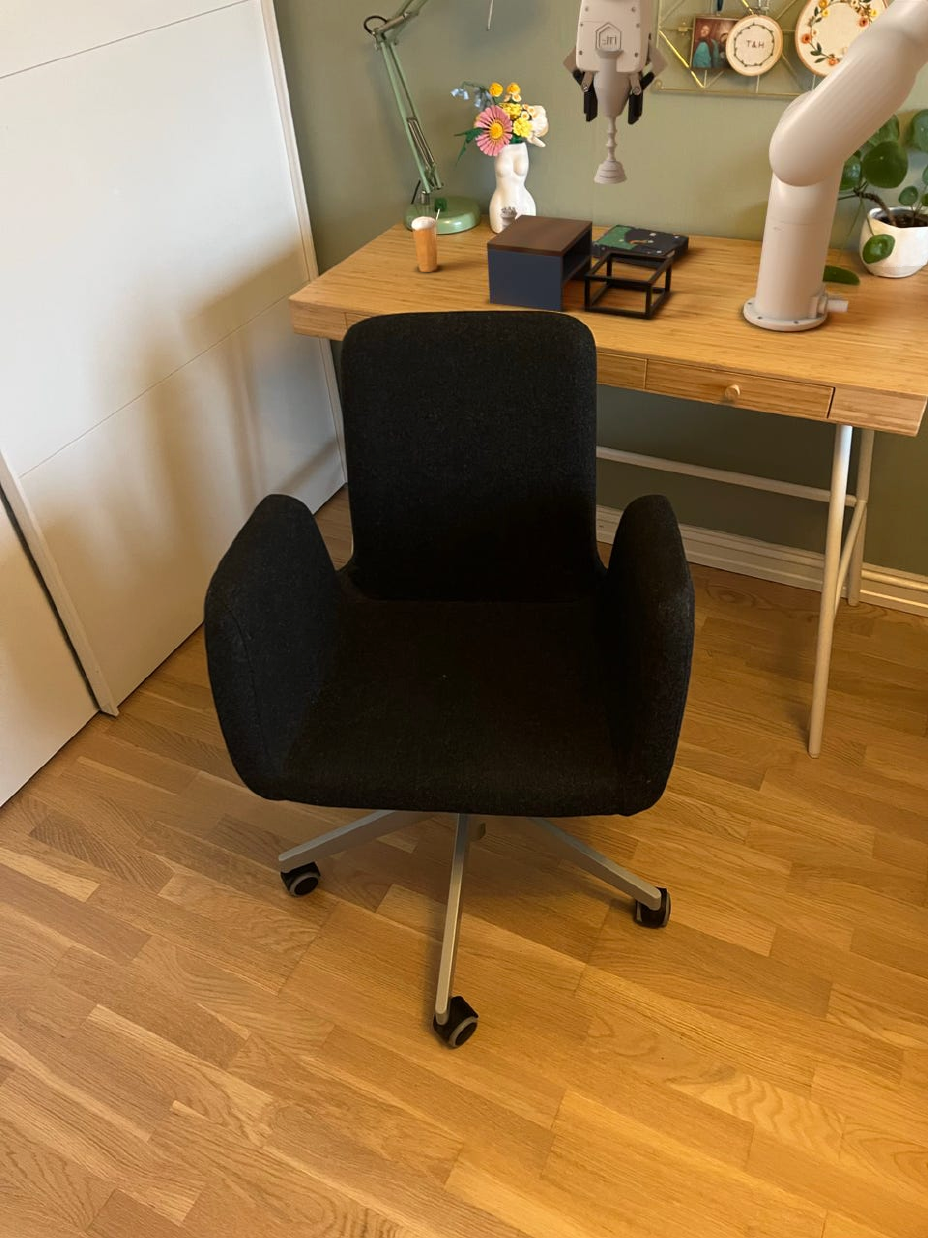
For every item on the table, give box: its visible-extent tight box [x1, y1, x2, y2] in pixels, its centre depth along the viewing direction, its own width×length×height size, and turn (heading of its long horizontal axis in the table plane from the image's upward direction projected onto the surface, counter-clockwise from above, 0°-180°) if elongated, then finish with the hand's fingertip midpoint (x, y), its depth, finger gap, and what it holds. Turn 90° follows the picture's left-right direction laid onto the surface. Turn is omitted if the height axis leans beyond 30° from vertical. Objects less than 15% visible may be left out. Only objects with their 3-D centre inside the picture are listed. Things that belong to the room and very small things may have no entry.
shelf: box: [486, 214, 593, 313], centre depth 162 cm, size 13×14×10 cm
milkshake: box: [411, 209, 441, 273], centre depth 173 cm, size 4×5×10 cm
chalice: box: [593, 49, 632, 185], centre depth 142 cm, size 7×7×18 cm
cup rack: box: [583, 251, 674, 320], centre depth 157 cm, size 11×11×6 cm
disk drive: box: [592, 224, 690, 269], centre depth 174 cm, size 10×3×15 cm
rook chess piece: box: [499, 205, 518, 231], centre depth 177 cm, size 4×4×8 cm
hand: (612, 119), depth 143 cm, fingers closed on chalice, 5 cm apart
